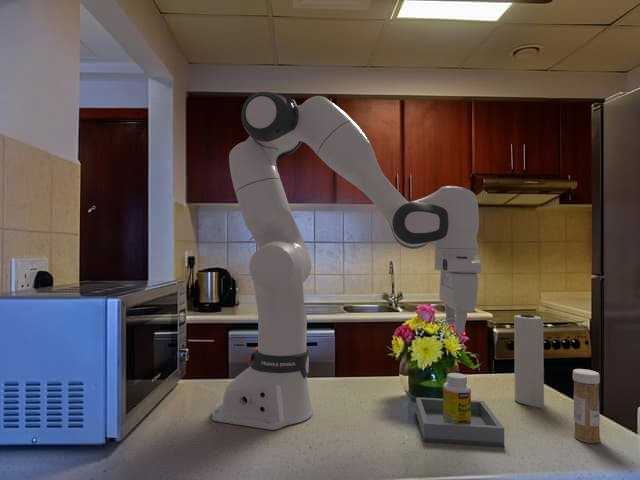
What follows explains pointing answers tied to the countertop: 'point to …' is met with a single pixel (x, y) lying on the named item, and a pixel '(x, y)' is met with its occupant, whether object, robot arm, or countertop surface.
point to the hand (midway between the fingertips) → (454, 327)
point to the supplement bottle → (456, 399)
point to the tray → (459, 425)
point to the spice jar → (586, 405)
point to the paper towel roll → (529, 360)
